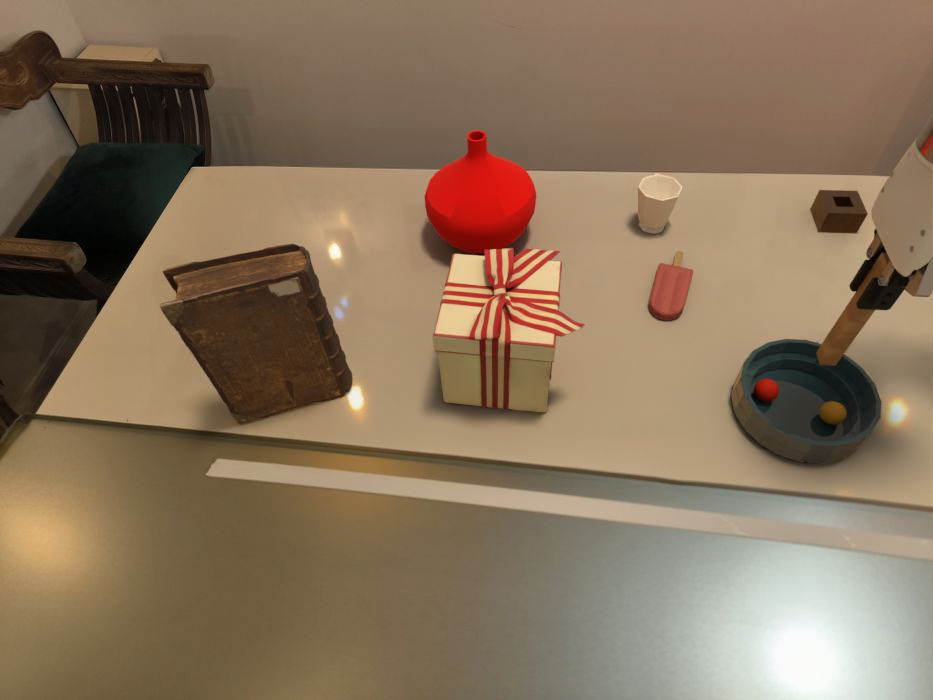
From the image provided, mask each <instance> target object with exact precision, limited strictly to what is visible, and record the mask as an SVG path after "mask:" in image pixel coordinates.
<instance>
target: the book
mask: <svg viewBox="0 0 933 700" xmlns="http://www.w3.org/2000/svg"><path fill="white" fill-rule="evenodd" d="M311 259H312V258H311V254H310V252H309V250H308V249H306V248H305V246H302V245H298V244H295V243H288V244H287V243H286V244H281V245H275V246H270V247H265V248H262V249H259V250H254V251H248V252H241V253H237V254H231V255H227V256H222V257H218V258H212V259H208V260H202V261H191V262H187V263H183V264H179V265H175V266H170V267H166V268H164V269H162V274H163V275H164V277H165V279H166V280H167V282H168V284H169V286H170V287H171V288H172V289H173V291H174V292H175V294H176V295H175V298H174V300H170V301H166V302H161V303H160V304H159V308H160V310H161V311H162V314H163V315H164V317H165V318H166V320H167V321H168V322H169V324H170V325H171V326H172V327H173V328H174V329H175V331H176V332H177V333H178V335H179V336H180V338H181V340H182V341H183V343H184V345H185V346H186V347H187V348H188V350H189V351H190V353H191V355H192V356H193V357H194V359H195V361H196V362H197V363H198V365H199V367H200V368H201V369H202V371H203V372H204V374H205V375H206V377H207V378H208V380H209V381H210V383H211V385H212V386H213V387H214V389H215V390H216V391H217V394H218V396H219V397H220V399H221V400H222V402H223V404H224V405H225V406H226V407H227V409H228V411H229V413H230V414H231V416H232V418H233V419H234V421H235V422H236V424H237V425H243V424H248V423H252V422H256V421H260V420H263V419H266V418H269V417H272V416H275V415H278V414H280V413H284V412H286V411H290V410H294V409H297V408H301V407H305V406H309V405H312V404H317V403H325V402H330V401H334V400H336V399H340V398H343V397H344V396H345V395H346V394H348V393H350V391H351V389H352V386H353V379H354V378H353V372H352V371H351V369H350V367H349V364H348V362H347V356H346V353H345V351H344V350H343V348H342V346H341V341H340V340H341V339H340V337H339V335H338V333H337V331H336V328H335V325H334V319H333V317H332V315H331V314H330V312H329V308H328V304H327V299H326V297H325V296H324V295H323V292H322V289H321V287H320V280H319V278H318V275H317V274H316V273H315V270H314V266H313V263H312V260H311Z"/></svg>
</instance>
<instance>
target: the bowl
mask: <svg viewBox="0 0 933 700" xmlns="http://www.w3.org/2000/svg"><path fill="white" fill-rule="evenodd" d="M821 344H822V343H820V342H815V341H812V340H808V339H796V338H795V339H794V338H782V339H778V340H774V341H768V342H766V343H764V344H762V345H761V346H759V347H757V348H755V349H753V350H752V351H751V353H750V354H749V355H748V357H746V358H745V360H744V361H743V363H742V365H741V367H740V369H739V371H738V374H737V375H736V377H735V379H734V383H733V387H732V391H731V396H730V397H731V402H732V407H733V412H734V414H735V416H736V417H737V420H738V421H739V424H740V425H741V426H742V428H743V430H744V431H745V432H747V433H748V434H749V435H750V436H751V438H753V439H754V441H756V442H757V443H758V444H759V445H760V446H762V447H764V448H766V449H767V450H769V451H770V452H772V453H774V454H776V455H778V456H781V457H784V458H787V459H790V460H793V461H796V462H799V463H809V464H810V463H811V464H822V465H823V464H827V463H831V462H836V461H840V460H843V459H845V458H846V457H848V456H849V455H851V454H852V453H854V452H856V451H857V450H858V448H859V447H860V446H862V444H863V443H864V442H865V441H866V440H867V439H868V438H869V436H870V435H871V434H872V433H873V432H874V430H875V428H876V427H877V425H878V423H879V422H880V420H881V418H882V403H883V402H882V399H881V396H880V393H879V390H878V388H877V385H876V383H875V382H874V380H873V379H872V378H871V377H870V375H869V374H868V373H867V372H866V370H865V369H864V368H863V367H862V366H861V365H859V364H858V363H857V361H854V360H853V359H852V358H851V357H849V356H848V355H847V354H845V353H844V354H843V356H842V357H841V359H840V360H839V361H838V363H837V364H836V365H835V366H834V365H820V364H819V361H818V358H817V355H816V352H817V350H818V349H819V347H820V346H821ZM762 379H771V380H773V381H775V382H776V383H777V385H778V387H779V394H778V396H777V397H776V398H775V399H774V400H772V401H762V400H760V399H758V398H757V397H756V395H755V393H754V386H755V384H756V383H757V382H758V381H760V380H762ZM830 401H835V402H838V403H840V404H842V405H843V406H844V407H845V409H846V412H847V415H846V418H845V420H844V421H843V422H842V423H840V424H837V425H830V424H827V423H825V422H824V421H823V420H822V419H821V418H820V415H819V410H820V407H821V406H822V405H823V404H824V403H826V402H830Z"/></svg>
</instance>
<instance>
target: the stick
mask: <svg viewBox="0 0 933 700" xmlns="http://www.w3.org/2000/svg"><path fill="white" fill-rule="evenodd" d="M889 261H890V258H889V256H888V254H887V253H884V252H882V253H881V255H880V256H879V258H878V259H877V261H876V262H875V264H874V265H873V267H872V268H871V270H870V271H869V273H868V275H867V276H866V278H865V279H864V281H863V282H862V284H861V285H860V287H859V288H858V290H857V291H856V292H854V294H853V296H852V297H851V299H850V300H849V302H848V303H847V305H846V306H845V308H844V309H843V311H842V312H841V314H840V315H839V317H838V318H837V320H836V322H835V323H834V325H833V326H832V328H831V329H830V330H829V332H828V333H827V335H826V337H825V338H824V340H823V341H822V343H820V344H821V346H820V347H819V349H818V350H817V352H816V355H817V358H818V361H819V364H820V365H834V366H835V365H836V364H837V363H838V361H839V360H840V359H841V357H842V356H843V354H845V353H846V352H847V350H848V349H849V347H850V346H851V345H852V343H853V342H854V341H855V339H856V338H857V337H858V335H859V333H860V332H861V331H862V330H863V328H864V327H865V326H866V324H867V323H868V321H869V320H870V319H871V317H872V315H873V314H874V312H875V311H876V310H868V309H858V308H857V305H856V303H857V301H858V299H859V298H860V296H861V295H862V293H863V292H864V290H865V289H866V287H867V286H868V284H869V283H870V281H871V280H872V278H875V277H879V275H880V274H881V272H882V271H883V269H884V268H885V267H886V265H887V264H888V262H889ZM897 274H900V273H899V272H897Z"/></svg>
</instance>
